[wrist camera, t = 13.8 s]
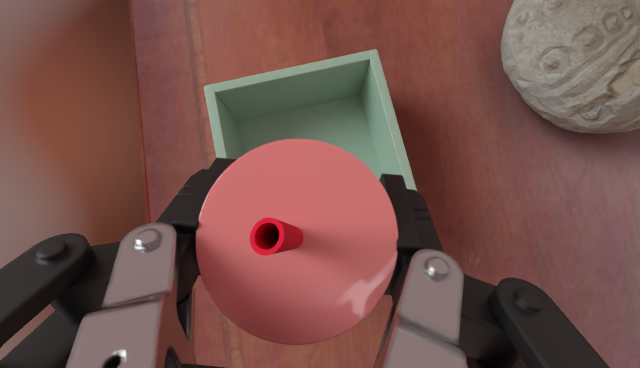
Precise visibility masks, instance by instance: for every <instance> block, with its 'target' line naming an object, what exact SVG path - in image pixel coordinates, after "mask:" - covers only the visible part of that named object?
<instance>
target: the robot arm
mask: <svg viewBox="0 0 640 368" xmlns="http://www.w3.org/2000/svg"><path fill="white" fill-rule="evenodd" d="M236 160H237V159H228V158H216V160H215V161H214V162H213V164H212V165H211V167H210V168H209V169H208V170H206V169H202V170H200V171H199V172H197V173H196V174H194V175H192V176H191V177H190V178H189V180H188V181H187V182H186V183H185V185H184V188H182V189H181V190H180V191H179V193H178V195H176V196H175V198H174V199H173V200H172V202H171V203H170V204H169V206H168V207H167V208H166V209H165V211H164V212H163V213H162V215H161V216H160V217H159V219H158V220H157V221H156V222H155V223H150V224H146V225H143V226H140V227H138V228H136V229H134V230H133V231H131V232H130V233H128V235H126V236H125V237H124V238H123V240H122V241H121V242H116V243H110V244H103V245H96V246H90V245H89V243H88V241H87V239H86V238H85V237H84V236H82V235H80V234H74V233H69V234H61V235H57V236H54V237H51V238H48V239H46V240H44V241H42V242H40V243H38V244H36V245H35V246H33V247H32V248H30V249H29V250H28V251H26V252H24V253H23V254H22V255H20V256H19V257H17V258H16V259H14V260H13V261H11V262H10V263H9V264H7V265H6V266H4V267H3V268H2V269H0V348H1V347H2V345H3V344H4V343H6V341H8V340H9V339H10V338H11V337H12V336H13V335H15V334H16V333H17V332H18V331H19V330H20V329H21V328H23V327H24V326H25V325H26V324H27V323H28V322H29V321H30V320H32V319H33V318H34V317H35V316H36V315H37V314H38V313H40V312H41V311H42V310H43V309H44V308H45V307H46V306H48V305H49V304H51V306H52V307H53V308H54V309H55V310H56V311H55V312H54V313H52V314H51V315H50V316H49V317H48V318H47V319H46V320H45V321H44V322H42V323H41V324H40V325H39V326H38V327H37V328H36V329H35V330H34V331H33V332H31V333H30V334H29V335H28V336H27V337H26V338H25V339H24V340H23V341H22V342H20V343H19V344H18V345H17V346H16V347H15V348H14V349H13V350H12V351H11V352H10V353H8V354H7V355H6V356H5V357H4V358H3V359H2V360H0V368H224V367H214V366H204V365H197V363H196V357H195V349H194V324H195V288H194V283H195V281H196V279H197V277H198V275H201V274H200V270H199V266H198V262H197V255H196V231H197V230H198V225H199V221H198V220H199V215H200V212H201V209H202V206H203V204H204V201H205V199H206V197H207V195H208V193H209V191H210V189H211V188H212V186H213V185H214V183H215V182H216V180H217V179H218V178H219V177H220V175H221V174H222V173H223V172H224V171H225V170H226V169H227V168H228V167H229V166H230V165H231V164H232V163H233V162H235V161H236ZM380 182H381V184H382V185H383V187H384V189H385V190H386V192H387V194H388V196H389V198H390V201H391V203H392V206H393V209H394V212H395V216H396V221H397V227H398V239H397V250H396V251H398V254H397V260H396V265H395V269H394V272H393V275H392V278H391V280H390V283H389V285H388V287H387V289H386V291H385V293H384V294H385V295H392V301H393V306H392V309H391V311H390V314H389V317H388V321H387V324H386V327H385V331H384V334H383V337H382V340H381V344H380V347H379V350H378V353H377V357H376V360H375V363H374V366H373V368H466V364H467V366H468V368H610V367H609V366H608V365H607V364H606V363H605V362H604V360H603V359H602V358H601V357H600V356H599V355H598V353H597V352H596V351H595V350H594V349H593V347H592V346H591V345H590V344H589V343H588V342H587V340H586V339H585V338H584V337H583V336H582V335H581V333H580V332H579V331H578V330H577V329H576V327H575V326H574V325H573V324H572V323H571V322H570V320H569V319H568V318H567V317H566V316H565V315H564V313H563V312H562V311H561V310H560V309H559V307H558V306H557V305H556V304H555V303H554V302H553V300H552V299H551V298H550V297H549V296H548V295H547V294H546V293H545V292H544V291H542V290H541V289H540V288H538V287H537V286H535V285H533V284H531V283H529V282H527V281H525V280H522V279H518V278H505V279H503V280H501V281H500V282H499V284H498V285H497V286H494V285H491V284H489V283H486V282H483V281H480V280H477V279H475V278H472V277H470V276H467V275H466V274H464V273H463V271H462V269H461V267H460V266H459V264H458V263H457V262H456V261H455V260H454V259H453V258H451V257H450V256H449V255H447V254H445V253H444V252H443V249H442V247H441V244H440V241H439V238H438V236H437V233H436V230H435V228H434V225H433V222H432V220H431V217H430V214H429V212H428V208H427V206H426V203H425V200H424V198H423V197H422V196H421V195H420V194H419V193H418V192H417V191H416V190H413V189H407V188H406V184H405V181H404V178H403V176H402V175H395V174H384V173H382V174H381V177H380ZM521 358H522V359H521ZM522 360H523V361H522ZM524 363H525V364H524ZM526 366H527V367H526Z"/></svg>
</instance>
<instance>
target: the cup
mask: <svg viewBox="0 0 640 368" xmlns="http://www.w3.org/2000/svg"><path fill="white" fill-rule="evenodd" d="M198 221H199V225H198V230H197V231H196V255H197V262H198V266H199V270H200V274H201V277H202V280H203V282H204V285H205V287H206V289H207V291H208V293H209V295H210V296H211V298H212V299H213V301H214V302H215V304H216V305H217V306H218V308H219V309H220V310H221V311H222V312H223V313H224V314H225V315H226V316H227V317H228V318H229V319H230V320H231V321H232V322H233V323H234V324H236V325H237V326H238V327H240V328H241V329H243V330H245V331H246V332H248V333H250V334H252V335H254V336H256V337H259V338H261V339H264V340H267V341H271V342H275V343H280V344H289V345H303V344H312V343H317V342H321V341H325V340H328V339H331V338H333V337H336V336H338V335H340V334H342V333H344V332H346V331H347V330H349V329H351V328H352V327H354V326H355V325H356V324H358V323H359V322H360V321H361V320H363V319H364V318H365V317H366V316H367V315H368V314H369V313H370V312H371V311H372V310H373V308H374V307H375V306H376V305H377V303H378V302H379V301H380V299H381V298H382V296H383V294H384V293H385V291H386V289H387V287H388V285H389V283H390V280H391V278H392V275H393V272H394V269H395V265H396V260H397V254H398V251H396V250H397V239H398V227H397V221H396V216H395V212H394V209H393V206H392V203H391V201H390V198H389V196H388V194H387V192H386V190H385V189H384V187H383V185H382V184H381V182H380V181H379V179H378V178H377V177H376V176H375V174H374V173H373V172H372V171H371V170H370V169H369V168H368V167H367V166H366V165H365V164H364V163H363V162H362V161H360V160H359V159H358V158H356V157H355V156H354V155H352V154H350V153H349V152H347V151H345V150H343V149H341V148H339V147H337V146H334V145H332V144H329V143H326V142H322V141H317V140H311V139H286V140H279V141H275V142H271V143H268V144H265V145H262V146H260V147H257V148H255V149H253V150H251V151H249V152H248V153H246V154H244V155H243V156H241V157H240V158H238V159H237V160H236V161H235V162H233V163H232V164H231V165H230V166H229V167H228V168H227V169H226V170H225V171H224V172H223V173H222V174H221V175H220V177H219V178H218V179H217V180H216V182H215V183H214V185H213V186H212V188H211V189H210V191H209V193H208V195H207V197H206V199H205V201H204V204H203V206H202V209H201V212H200V215H199V220H198Z"/></svg>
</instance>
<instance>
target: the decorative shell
mask: <svg viewBox="0 0 640 368" xmlns="http://www.w3.org/2000/svg"><path fill="white" fill-rule="evenodd" d="M501 61H502V63H503V69H504V72H505V74H506V75H507V76H508V77H509V79H510V81H511V83H512V84H513V86H514V88H515V89H516V90H517V91H518V92H519V93H520V94H521V97H522V99H523V100H524V101H525V103H526V104H527V105H529V106H530V107H531V109H532V110H533V111H535V112H536V113H538V114H539V115H540V116H541V117H543V118H544V119H546V120H549V121H550V122H552V123H553V124H554V125H556V126H558V127H560V128H563V129H565V130H570V131H573V132H579V133H603V134H605V133H610V132H629V131H633V130H636V129H640V0H514V2H513V4H512V7H511V9H510V12H509V14H508V17H507V19H506V23H505V26H504V30H503V36H502V39H501Z"/></svg>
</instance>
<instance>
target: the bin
mask: <svg viewBox="0 0 640 368" xmlns="http://www.w3.org/2000/svg"><path fill="white" fill-rule="evenodd" d="M204 91H205V96H206V102H207V107H208V113H209V118H210V124H211V130H212V135H213V141H214V146H215V152H216V157H217V158H228V159H238V158H240V157H241V156H243V155H244V154H246V153H248V152H249V151H251V150H253V149H255V148H257V147H260V146H262V145H265V144H268V143H271V142H275V141H279V140H286V139H311V140H317V141H322V142H326V143H329V144H332V145H334V146H337V147H339V148H341V149H343V150H345V151H347V152H349V153H350V154H352V155H354V156H355V157H356V158H358V159H359V160H360V161H362V162H363V163H364V164H365V165H366V166H367V167H368V168H369V169H370V170H371V171H372V172H373V173H374V174H375V176H376V177H377V178H378V179H379V181H380V177H381V174H382V173H384V174H395V175H402V176H403V178H404V181H405V184H406V188H407V189H413V190H416V191H417V189H416V185H415V182H414V178H413V175H412V171H411V168H410V164H409V161H408V157H407V154H406V150H405V146H404V143H403V139H402V136H401V132H400V129H399V125H398V122H397V118H396V115H395V111H394V108H393V104H392V101H391V97H390V94H389V90H388V87H387V83H386V80H385V76H384V73H383V69H382V65H381V62H380V58H379V55H378V51H377V49H374V50H370V51H365V52H360V53H356V54H351V55H346V56H342V57H337V58H332V59H328V60H323V61H318V62H314V63H309V64H304V65H300V66H295V67H290V68H285V69H281V70H276V71H271V72H267V73H262V74H257V75H253V76H248V77H243V78H239V79H234V80H229V81H225V82H220V83H215V84H214V85H213V84H210V85H205V86H204Z"/></svg>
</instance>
